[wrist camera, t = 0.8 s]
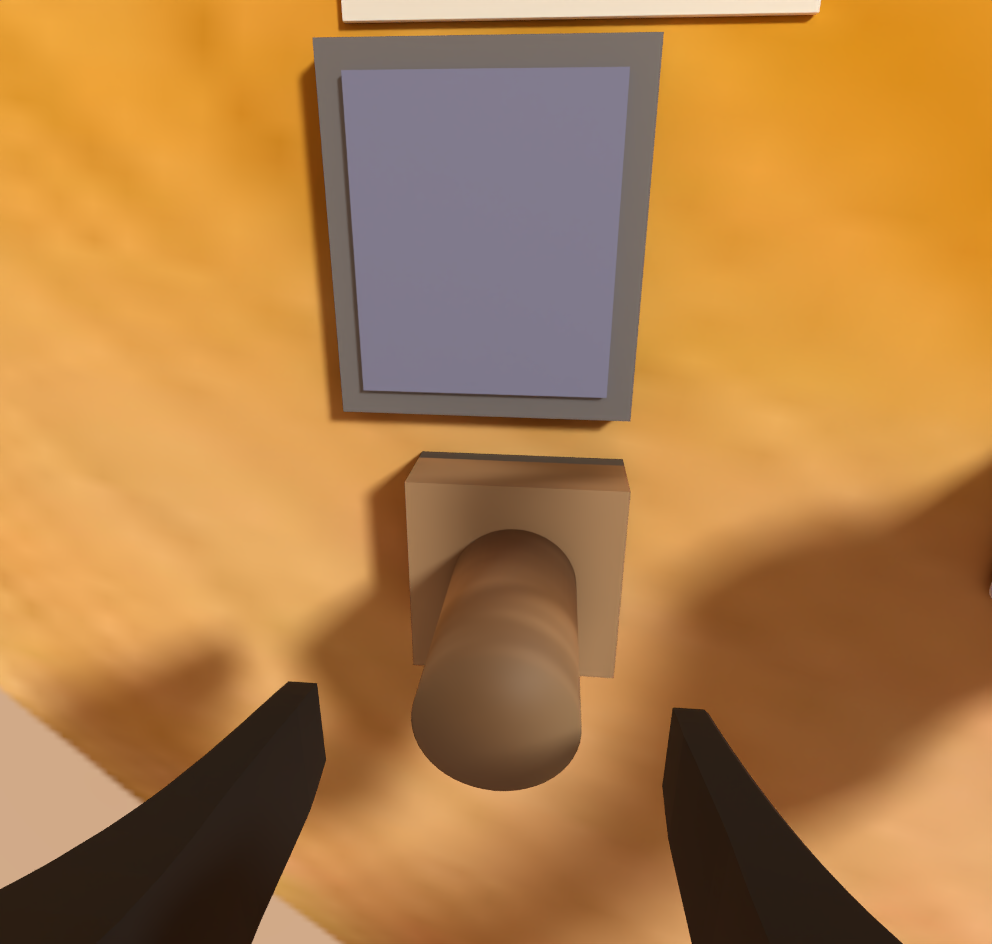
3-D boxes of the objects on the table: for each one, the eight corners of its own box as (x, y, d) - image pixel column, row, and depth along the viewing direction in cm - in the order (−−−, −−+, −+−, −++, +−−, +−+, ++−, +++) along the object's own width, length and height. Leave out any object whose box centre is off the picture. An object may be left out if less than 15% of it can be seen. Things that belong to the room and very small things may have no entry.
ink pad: (657, 42, 15) (665, 29, 14) (627, 411, 19) (631, 423, 18) (327, 47, 16) (309, 34, 15) (353, 401, 19) (340, 413, 18)
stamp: (622, 458, 19) (658, 611, 12) (608, 628, 22) (631, 844, 14) (422, 450, 20) (340, 592, 13) (428, 617, 22) (362, 821, 15)
